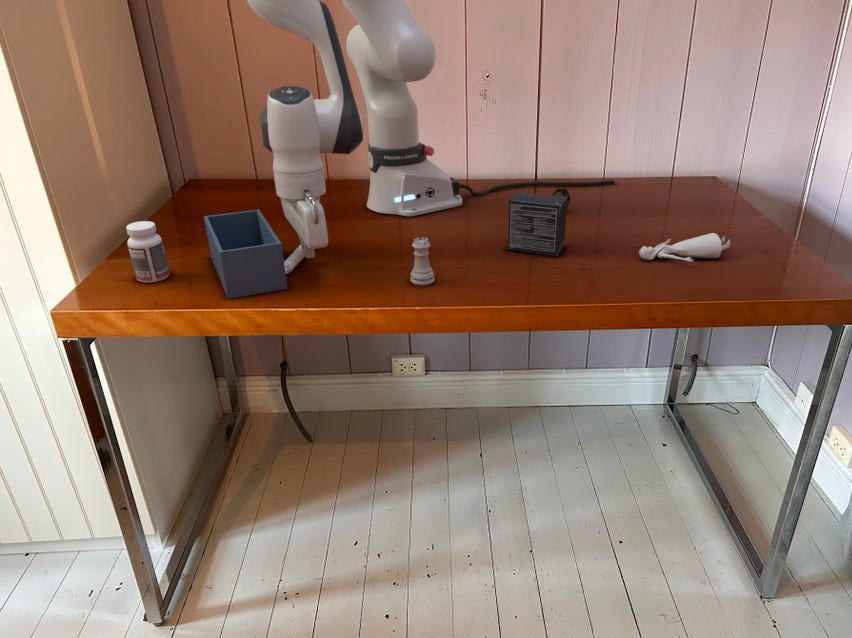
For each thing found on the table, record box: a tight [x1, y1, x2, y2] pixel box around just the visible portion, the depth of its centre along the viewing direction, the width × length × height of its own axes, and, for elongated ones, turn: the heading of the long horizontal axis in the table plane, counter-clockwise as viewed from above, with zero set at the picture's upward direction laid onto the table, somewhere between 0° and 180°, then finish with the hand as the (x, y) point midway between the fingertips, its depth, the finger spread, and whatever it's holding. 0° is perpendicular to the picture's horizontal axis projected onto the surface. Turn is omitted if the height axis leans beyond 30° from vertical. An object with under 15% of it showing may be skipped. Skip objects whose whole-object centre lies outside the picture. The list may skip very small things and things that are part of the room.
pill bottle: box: [126, 220, 170, 284], centre depth 129 cm, size 6×6×10 cm
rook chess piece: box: [409, 236, 435, 287], centre depth 129 cm, size 4×4×8 cm
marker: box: [284, 244, 306, 275], centre depth 139 cm, size 18×2×2 cm, turn 173°
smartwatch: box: [551, 187, 571, 208], centre depth 166 cm, size 4×5×5 cm
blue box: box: [203, 209, 288, 299], centre depth 132 cm, size 10×20×8 cm, turn 25°
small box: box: [506, 191, 568, 257], centre depth 143 cm, size 11×6×10 cm, turn 71°
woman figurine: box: [638, 232, 731, 263], centre depth 141 cm, size 12×4×18 cm
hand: (308, 255), depth 137 cm, fingers closed
